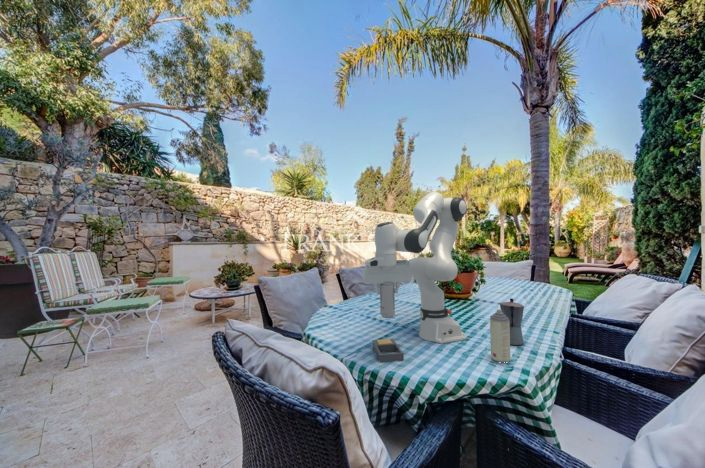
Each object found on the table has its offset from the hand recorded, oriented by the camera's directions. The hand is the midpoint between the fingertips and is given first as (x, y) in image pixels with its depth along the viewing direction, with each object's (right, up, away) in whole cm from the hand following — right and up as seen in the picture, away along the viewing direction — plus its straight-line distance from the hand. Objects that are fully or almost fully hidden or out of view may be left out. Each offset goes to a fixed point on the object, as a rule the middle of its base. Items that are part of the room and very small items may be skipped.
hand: (387, 293), depth 115 cm
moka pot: (+59, -25, +10) cm, 65 cm away
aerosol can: (+45, -25, -6) cm, 52 cm away
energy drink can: (0, -10, 0) cm, 10 cm away
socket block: (0, -26, +3) cm, 27 cm away
